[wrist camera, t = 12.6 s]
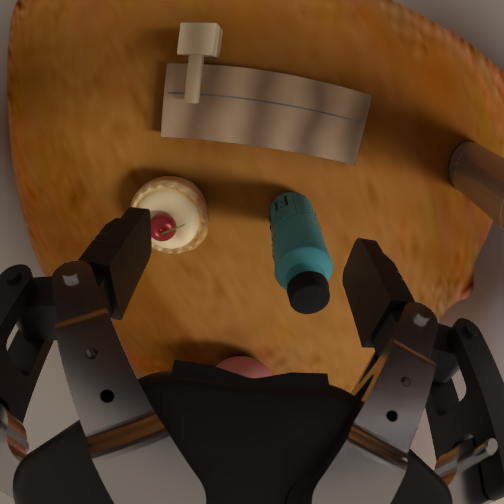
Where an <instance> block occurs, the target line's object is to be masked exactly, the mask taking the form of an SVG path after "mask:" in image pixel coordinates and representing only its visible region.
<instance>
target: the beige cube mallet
mask: <svg viewBox="0 0 504 504" xmlns="http://www.w3.org/2000/svg"><path fill="white" fill-rule="evenodd" d="M222 34H223V30H222V29H221V28H220V27H219V25H218V24H217V23H181V26H180V33H179V41H178V48H177V54H179V55H183V56H187V57H189V60H188V68H187V77H186V87H185V97H184V103H199V98H200V88H201V79H202V71H203V63H204V57H206V58H219V55H220V48H221V41H222Z"/></svg>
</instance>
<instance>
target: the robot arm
mask: <svg viewBox="0 0 504 504" xmlns="http://www.w3.org/2000/svg"><path fill="white" fill-rule="evenodd" d="M449 177H450V180H451V182H452V184H453V186H454V187H455V188H456V189H458V190H459V191H460V192H461V193H463V194H464V195H465V196H466V197H467V198H468V199H470V200H471V201H472V202H473V203H474V204H475V205H477V206H478V207H479V208H480V209H481V210H482V211H484V212H485V213H486V214H487V215H488V216H489V217H490V218H491V219H492V220H493V221H495V222H496V223H497V224H498V225H499V226H500V227H501V228H502V229H503V230H504V158H503V157H501V156H499V155H497V154H496V153H494V152H492V151H490V150H489V149H487V148H485V147H483V146H481V145H479V144H477V143H475V142H471V141H468V142H464V143H462V144H461V145H459V146H458V147H457V148H456V149H455V151H454V153H453V154H452V157H451V159H450V163H449ZM151 249H152V239H151V215H150V210H149V209H146V208H136V207H129V208H128V210H127V211H126V212H125V213H124V215H123V216H122V217H121V218H116V219H114V220H112V221H111V222H109V223H107V224H106V225H105V226H104V227H103V229H102V230H101V231H100V234H98V235H97V236H96V237H95V240H93V241H92V243H91V244H90V245H89V246H88V248H87V249H86V250H85V252H84V253H83V254H82V256H81V257H80V258H79V260H78V261H70V262H66V263H64V264H62V265H60V266H59V267H58V268H57V269H56V270H55V271H54V272H53V274H52V276H50V277H37V278H33V275H32V272H31V270H30V268H29V267H28V266H26V265H22V264H20V265H14V266H11V267H9V268H7V269H6V270H5V271H4V272H2V274H1V275H0V491H2V492H4V493H5V494H7V495H9V496H11V497H12V498H14V501H15V504H489V503H491V502H493V501H496V500H498V499H500V498H503V497H504V382H503V380H502V378H501V375H500V373H499V370H498V368H497V366H496V363H495V361H494V359H493V357H492V354H491V352H490V350H489V348H488V346H487V344H486V342H485V340H484V338H483V336H482V334H481V332H480V330H479V329H478V327H477V326H476V325H475V324H474V323H473V322H471V321H470V320H468V319H464V318H460V319H458V320H457V321H456V322H455V323H454V325H453V326H452V327H448V326H445V325H442V324H439V323H438V320H437V317H436V315H435V314H434V312H433V311H432V310H431V309H430V308H428V307H427V306H426V305H424V304H422V303H419V302H415V301H414V299H413V297H412V295H411V293H410V291H409V289H408V287H407V286H406V284H405V282H404V280H402V279H403V278H402V276H401V275H400V273H399V271H398V269H397V267H396V266H395V264H394V262H392V261H391V260H390V259H389V258H388V257H387V256H386V255H385V254H384V253H383V252H382V250H381V248H380V247H379V245H378V243H377V242H376V241H374V240H368V239H362V238H358V239H357V240H356V241H355V243H354V245H353V248H352V250H351V253H350V256H349V258H348V261H347V263H346V266H345V268H344V272H343V286H344V289H345V292H346V295H347V298H348V301H349V304H350V308H351V311H352V314H353V317H354V321H355V324H356V327H357V331H358V334H359V337H360V341H361V345H362V347H369V348H374V349H375V352H374V354H373V355H372V356H371V358H370V360H369V362H368V364H367V366H366V367H365V369H364V371H363V373H362V375H361V377H360V378H359V380H358V382H357V384H356V385H355V387H354V389H353V390H352V392H351V393H349V392H347V391H345V390H343V389H341V388H338V387H336V386H333V385H329V382H328V376H327V374H324V373H293V372H292V373H286V374H280V375H274V376H268V377H261V378H249V377H246V376H243V375H240V374H236V373H233V372H230V371H227V370H225V369H222V368H219V367H216V366H213V365H206V364H199V363H192V362H185V361H179V360H174V365H173V369H172V371H162V372H157V373H153V374H149V375H147V376H144V377H142V378H139V379H137V377H136V375H135V373H134V371H133V369H132V366H131V364H130V362H129V360H128V358H127V356H126V353H125V351H124V349H123V347H122V344H121V342H120V340H119V337H118V335H117V332H116V330H115V327H114V325H113V322H112V320H111V318H114V319H118V320H122V317H123V315H124V313H125V310H126V308H127V306H128V304H129V301H130V299H131V297H132V295H133V292H134V290H135V288H136V286H137V284H138V282H139V279H140V277H141V275H142V273H143V271H144V269H145V267H146V265H147V263H148V261H149V258H150V255H151ZM15 324H16V325H17V327H18V328H19V329H18V331H17V333H16V335H15V337H14V339H13V341H12V343H11V345H10V347H9V349H8V351H7V348H6V344H7V339H8V337H9V335H10V333H11V331H12V330H13V328H14V326H15ZM54 340H57V343H58V347H59V352H60V356H61V360H62V364H63V368H64V372H65V375H66V379H67V383H68V386H69V390H70V393H71V396H72V399H73V402H74V405H75V408H76V411H77V414H78V417H79V420H78V421H77V422H75V423H74V424H72V425H71V426H69V427H68V428H66V429H65V430H63V431H62V432H60V433H59V434H58V435H56V436H55V437H53V438H51V439H50V440H48V441H47V442H45V443H44V444H43V445H41V446H39V447H38V448H36V449H35V450H33V451H32V452H30V453H29V454H27V452H28V450H29V444H28V442H27V435H26V431H25V428H24V426H23V421H24V417H25V414H26V411H27V408H28V405H29V402H30V399H31V396H32V393H33V391H34V388H35V385H36V382H37V380H38V377H39V375H40V372H41V369H42V367H43V365H44V362H45V360H46V357H47V355H48V353H49V350H50V348H51V346H52V343H53V341H54ZM459 369H460V370H461V372H462V375H463V378H464V381H465V383H466V394H465V396H464V398H463V399H462V400H461V401H460V402H459V399H458V396H457V393H456V389H455V387H454V383H453V381H452V378H451V377H452V376H453V375H454V374H455V373H456V372H457V371H458V370H459ZM424 408H426V412H427V417H428V421H429V425H430V430H431V434H432V439H433V445H434V449H435V455H436V461H437V463H436V466H435V470H434V471H433V470H432V469H431V468H430V467H429V466H427V465H426V464H425V463H424V462H423V461H422V460H421V459H420V458H419V457H418V456H417V455H416V454H415V453H414V452H413V451H412V450H411V449H410V446H411V444H412V441H413V439H414V436H415V433H416V431H417V428H418V425H419V423H420V420H421V417H422V414H423V411H424Z"/></svg>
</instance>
